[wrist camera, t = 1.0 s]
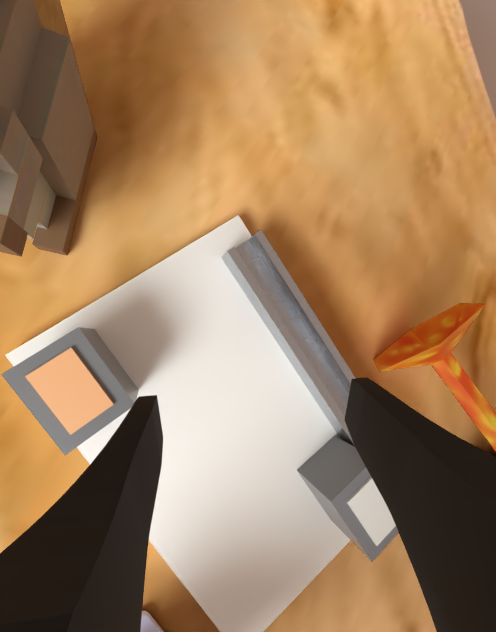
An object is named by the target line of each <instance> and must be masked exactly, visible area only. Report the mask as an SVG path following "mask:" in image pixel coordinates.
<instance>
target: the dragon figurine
mask: <svg viewBox="0 0 496 632" xmlns="http://www.w3.org/2000/svg"><path fill="white" fill-rule="evenodd" d="M484 306H485V304H471V303H460V304H458V305H456V306H454V307H452V308H450V309H448V310H446V311H444V312H442V313H441V314H439V315H437V316H435V317H433V318H431V319H429V320H427V321H425V322H423V323H421V324H419V325H418V326H416V327H414V328H412V329H410V330H409V331H408V332H407V333H406V334H404V335H403V336H402V337H401V338H400V339H398V340H397V341H396V342H395V343H393V344H392V345H391V346H390V347H389V348H387V349H386V350H385V351H384V352H383V353H381V354H380V355H379V356H378V357H376V358H375V359H374V362H375V364H376V365H377V367H378V369H379V371H386V370H393V369H401V368H408V367H416V366H423V365H432V367H433V368H434V369H435V371H436V372H437V373H438V375H439V376H440V378H441V379H442V380H443V382H444V383H445V384H446V386H447V387H448V388H449V390H450V391H451V392H452V394H453V395H454V396H455V398H456V399H457V400H458V402H459V403H460V405H461V406H462V407H463V409H464V410H465V411H466V413H467V414H468V415H469V417H470V418H471V419H472V421H473V422H474V423H475V425H476V426H477V427H478V429H479V430H480V432H481V433H482V434H483V436H484V437H485V438H486V440H487V441H488V442H489V444H490V445H491V446H492V448H493V449H494V450H495V452H496V413H495V412H494V410H493V409H492V408H491V406H490V405H489V404H488V402H487V401H486V400H485V398H484V397H483V395H482V394H481V393H480V391H479V390H478V389H477V387H476V386H475V385H474V383H473V382H472V381H471V379H470V378H469V377H468V375H467V374H466V373H465V371H464V370H463V369H462V367H461V366H460V364H459V363H458V362H457V360H456V359H455V358H454V356H453V355H452V354H451V352H452V351H453V349H454V348H455V346H456V345H457V344H458V342H459V341H460V339H461V338H462V337H463V335H464V334H465V332H466V331H467V330H468V328H469V327H470V325H471V324H472V323H473V321H474V320H475V318H476V317H477V316H478V314H479V313H480V311H481V310H482V309H483V307H484Z"/></svg>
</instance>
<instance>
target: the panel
mask: <svg viewBox="0 0 496 632" xmlns="http://www.w3.org/2000/svg"><path fill="white" fill-rule="evenodd" d="M251 237H252V235H251V234H250V232H249V231H248V229H247V228H246V226H245V225H244V223H243V221H242V220H241V218H240V217H239V215H238V216H236V217H234V218H233V219H231V220H229V221H228V222H226V223H224V224H223V225H221V226H219V227H218V228H216V229H214V230H213V231H211V232H209V233H208V234H206V235H204V236H203V237H201V238H199V239H198V240H196V241H194V242H193V243H191V244H189V245H188V246H186V247H184V248H183V249H181V250H179V251H178V252H176V253H174V254H173V255H171V256H169V257H168V258H166V259H164V260H163V261H161V262H159V263H158V264H156V265H154V266H153V267H151V268H149V269H148V270H146V271H144V272H143V273H141V274H139V275H138V276H136V277H134V278H133V279H131V280H129V281H128V282H126V283H124V284H123V285H121V286H119V287H118V288H116V289H114V290H113V291H111V292H109V293H108V294H106V295H104V296H103V297H101V298H99V299H98V300H96V301H94V302H93V303H91V304H89V305H88V306H86V307H84V308H83V309H81V310H80V311H78V312H76V313H75V314H73V315H71V316H70V317H68V318H66V319H65V320H63V321H61V322H60V323H58V324H56V325H55V326H53V327H51V328H50V329H48V330H46V331H45V332H43V333H41V334H40V335H38V336H36V337H35V338H33V339H31V340H30V341H28V342H26V343H25V344H23V345H21V346H20V347H18V348H16V349H15V350H13V351H11V352H10V353H8V354H6V355H5V356H6V357H7V358H8V360H9V361H10V362H11V363H12V365H13V366H16V365H17V364H19V363H20V362H22V361H24V360H25V359H27V358H29V357H30V356H32V355H34V354H35V353H37V352H38V351H40V350H42V349H43V348H45V347H47V346H48V345H50V344H51V343H53V342H55V341H56V340H58V339H60V338H61V337H63V336H64V335H66V334H68V333H69V332H71V331H73V330H74V329H76V328H77V327H82V328H90V329H95V331H96V332H97V334H98V335H99V336H100V338H101V339H102V340H103V342H104V343H105V344H106V346H107V347H108V349H109V350H110V351H111V353H112V354H113V355H114V357H115V358H116V359H117V361H118V362H119V364H120V365H121V366H122V368H123V369H124V370H125V372H126V373H127V375H128V376H129V377H130V379H131V380H132V381H133V383H134V384H135V385H136V387H137V388H138V390H139V391H138V396H137V398H138V397H139V396H151V395H157V399H158V406H159V412H160V419H161V425H162V432H163V452H162V466H161V472H160V477H159V483H158V489H157V494H156V500H155V505H154V511H153V516H152V522H151V527H150V533H149V541H150V542H151V543H152V545H153V546H154V547H155V549H156V550H157V551H158V552H159V554H160V555H161V556H162V558H163V559H164V560H165V561H166V563H167V564H168V565H169V567H170V568H171V569H172V570H173V572H174V573H175V574H176V576H177V577H178V578H179V579H180V581H181V582H182V583H183V585H184V586H185V587H186V588H187V590H188V591H189V592H190V594H191V595H192V596H193V597H194V599H195V600H196V601H197V603H198V604H199V605H200V606H201V608H202V609H203V610H204V612H205V613H206V614H207V615H208V617H209V618H210V619H211V621H212V622H213V623H214V624H215V626H216V627H217V628H218V630H219V631H220V632H264V631H265V630H266V629H267V627H268V626H269V625H270V624H271V623H272V622H273V621H274V620H275V619H276V618H277V617H278V616H279V615H280V614H281V613H282V612H283V611H284V610H285V609H286V608H287V606H288V605H289V604H290V603H291V602H292V601H293V600H294V599H295V598H296V597H297V596H298V595H299V594H300V593H301V592H302V591H303V590H304V589H305V588H306V587H307V586H308V584H309V583H310V582H311V581H312V580H313V579H314V578H315V577H316V576H317V575H318V574H319V573H320V572H321V571H322V570H323V569H324V568H325V567H326V566H327V565H328V563H329V562H330V561H331V560H332V559H333V558H334V557H335V556H336V555H337V554H338V553H339V552H340V551H341V550H342V549H343V548H344V547H345V546H346V545H347V544H348V542H349V541H350V539H349V538H348V537H347V536H346V535H345V534H344V533H343V532H342V531H341V530H340V529H339V528H338V527H337V526H336V525H335V524H334V523H333V522H332V521H331V519H330V518H329V516H328V515H327V514H326V512H325V511H324V509H323V508H322V506H321V505H320V503H319V502H318V500H317V499H316V498H315V496H314V495H313V493H312V492H311V490H310V489H309V487H308V486H307V484H306V483H305V482H304V480H303V479H302V477H301V476H300V474H299V473H298V471H297V469H298V468H299V467H300V466H302V465H303V464H304V463H305V462H306V461H307V460H308V459H309V458H310V457H311V456H312V455H314V454H315V453H316V452H317V451H318V450H319V449H320V448H321V447H322V446H323V445H325V444H326V443H327V442H328V441H329V440H330V439H331V438H332V437H333V436H336V437H338V438H339V439H340V437H339V436H338V434H337V433H336V431H335V430H334V428H333V427H332V425H331V424H330V422H329V421H328V419H327V417H326V416H325V414H324V413H323V411H322V410H321V408H320V407H319V405H318V404H317V402H316V401H315V399H314V398H313V396H312V395H311V393H310V392H309V390H308V389H307V387H306V386H305V384H304V383H303V381H302V380H301V378H300V377H299V375H298V373H297V372H296V370H295V369H294V367H293V366H292V364H291V363H290V361H289V360H288V358H287V357H286V355H285V354H284V352H283V351H282V349H281V348H280V346H279V345H278V343H277V342H276V340H275V339H274V337H273V336H272V334H271V333H270V331H269V329H268V328H267V326H266V325H265V323H264V322H263V320H262V319H261V317H260V316H259V314H258V313H257V311H256V310H255V308H254V307H253V305H252V304H251V302H250V301H249V299H248V298H247V296H246V295H245V293H244V292H243V290H242V289H241V287H240V285H239V284H238V282H237V281H236V279H235V278H234V276H233V275H232V273H231V272H230V270H229V269H228V267H227V266H226V264H225V263H224V261H223V260H222V258H221V257H222V256H223V255H224V254H225V253H226V252H227V251H228V250H230V249H231V248H233V247H235V248H236V247H238V246H239V245H241V244H242V243H244V242H245V241H247V240H249V239H250V238H251ZM130 409H131V408H130ZM130 409H129V410H130ZM129 410H128V411H126V412H125V413H123V414H122V415H121V416H119V417H118V418H116V419H115V420H114V421H112V422H111V423H109V424H108V425H107V426H105V427H104V428H103V429H101V430H100V431H98V432H97V433H96V434H94V435H93V436H91V437H90V438H89V439H87V440H86V441H84V442H83V443H82V444H80V445H79V446H77V448H78V450H79V451H80V452H81V453H82V455H83V456H84V457H85V459H86V460H87V461H88V462H89V464H91V463H92V462H93V460H94V459H95V458H96V457H97V455H98V454H99V453H100V452H101V450H102V449H103V448H104V446H105V445H106V444H107V442H108V441H109V440H110V438H111V437H112V435H113V434H114V433H115V431H116V430H117V428H118V427H119V426H120V424H121V423H122V421H123V420H124V418H125V417H126V415H127V414H128V412H129Z"/></svg>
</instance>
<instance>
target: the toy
mask: <svg viewBox="0 0 496 632" xmlns="http://www.w3.org/2000/svg"><path fill="white" fill-rule="evenodd" d="M96 140H97V135H96V132H95V128H94V124H93V121H92V117H91V113H90V110H89V106H88V102H87V99H86V95H85V91H84V88H83V84H82V80H81V76H80V73H79V69H78V65H77V62H76V58H75V54H74V51H73V47H72V43H71V40H70V36H69V33H68V29H67V25H66V22H65V18H64V14H63V11H62V7H61V3H60V0H0V252H4V253H8V254H13V255H17V256H21V257H22V254H23V250H24V246H25V243H26V239H27V237H28V238H32V239H33V238H34V240H33V245H34V246H35V247H37V248H38V249H42V250H46V251H50V252H54V253H59V254H63V255H67V254H68V250H69V246H70V242H71V238H72V234H73V230H74V226H75V222H76V218H77V214H78V210H79V206H80V203H81V199H82V195H83V191H84V187H85V183H86V179H87V175H88V171H89V167H90V163H91V159H92V155H93V151H94V148H95V144H96ZM35 230H36V233H35ZM34 234H35V236H34Z"/></svg>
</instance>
